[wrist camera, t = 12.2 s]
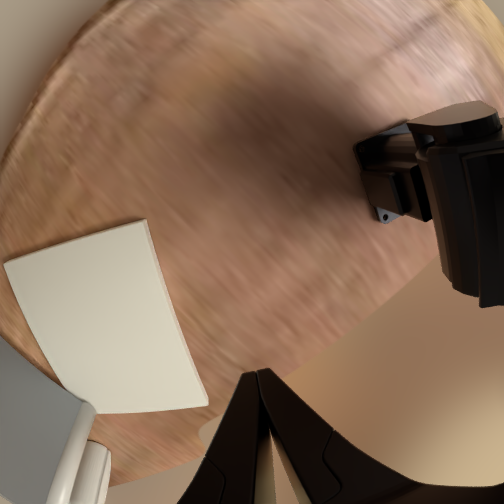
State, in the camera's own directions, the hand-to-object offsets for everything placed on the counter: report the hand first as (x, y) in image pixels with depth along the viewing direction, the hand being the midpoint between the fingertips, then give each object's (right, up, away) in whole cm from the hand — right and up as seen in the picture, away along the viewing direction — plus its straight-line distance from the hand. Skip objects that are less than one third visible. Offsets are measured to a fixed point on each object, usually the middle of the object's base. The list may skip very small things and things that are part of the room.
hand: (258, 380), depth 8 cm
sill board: (-13, -3, +13) cm, 19 cm away
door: (-22, -7, +12) cm, 25 cm away
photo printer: (-21, -24, +19) cm, 37 cm away
